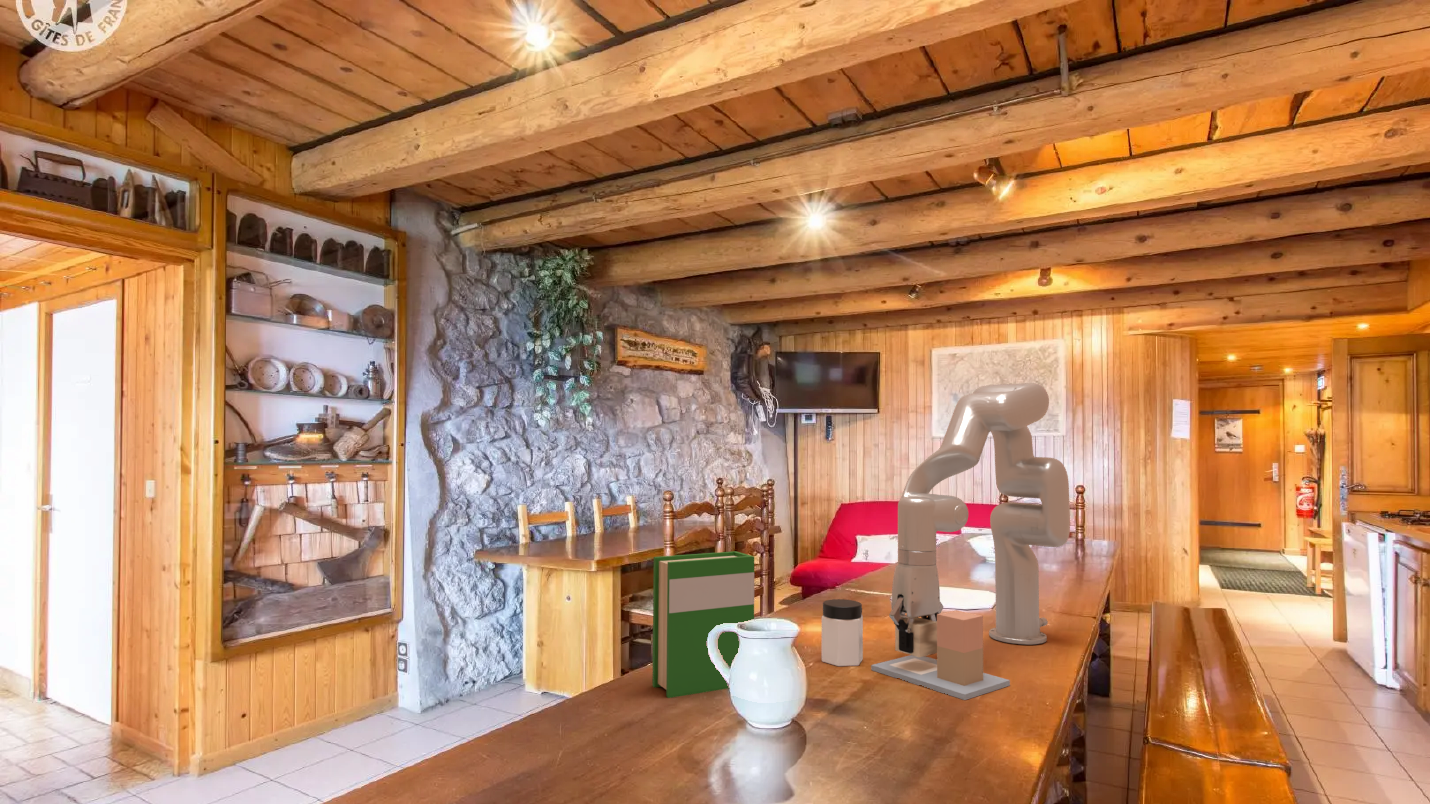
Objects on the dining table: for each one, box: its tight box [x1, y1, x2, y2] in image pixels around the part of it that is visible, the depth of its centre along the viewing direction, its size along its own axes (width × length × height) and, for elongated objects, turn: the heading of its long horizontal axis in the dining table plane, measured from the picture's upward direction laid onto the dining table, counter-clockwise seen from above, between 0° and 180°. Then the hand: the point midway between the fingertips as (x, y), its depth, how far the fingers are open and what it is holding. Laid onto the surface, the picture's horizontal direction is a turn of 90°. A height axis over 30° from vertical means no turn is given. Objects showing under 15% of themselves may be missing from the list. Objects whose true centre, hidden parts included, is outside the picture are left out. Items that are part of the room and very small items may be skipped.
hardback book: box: [651, 551, 755, 699], centre depth 146 cm, size 18×7×24 cm, turn 117°
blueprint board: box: [870, 646, 1011, 701], centre depth 151 cm, size 14×22×7 cm, turn 37°
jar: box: [821, 598, 864, 667], centre depth 162 cm, size 9×8×12 cm
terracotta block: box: [937, 609, 984, 653], centre depth 147 cm, size 6×6×6 cm
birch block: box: [894, 617, 937, 657], centre depth 155 cm, size 6×6×6 cm
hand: (917, 648), depth 155 cm, fingers closed on birch block, 6 cm apart
